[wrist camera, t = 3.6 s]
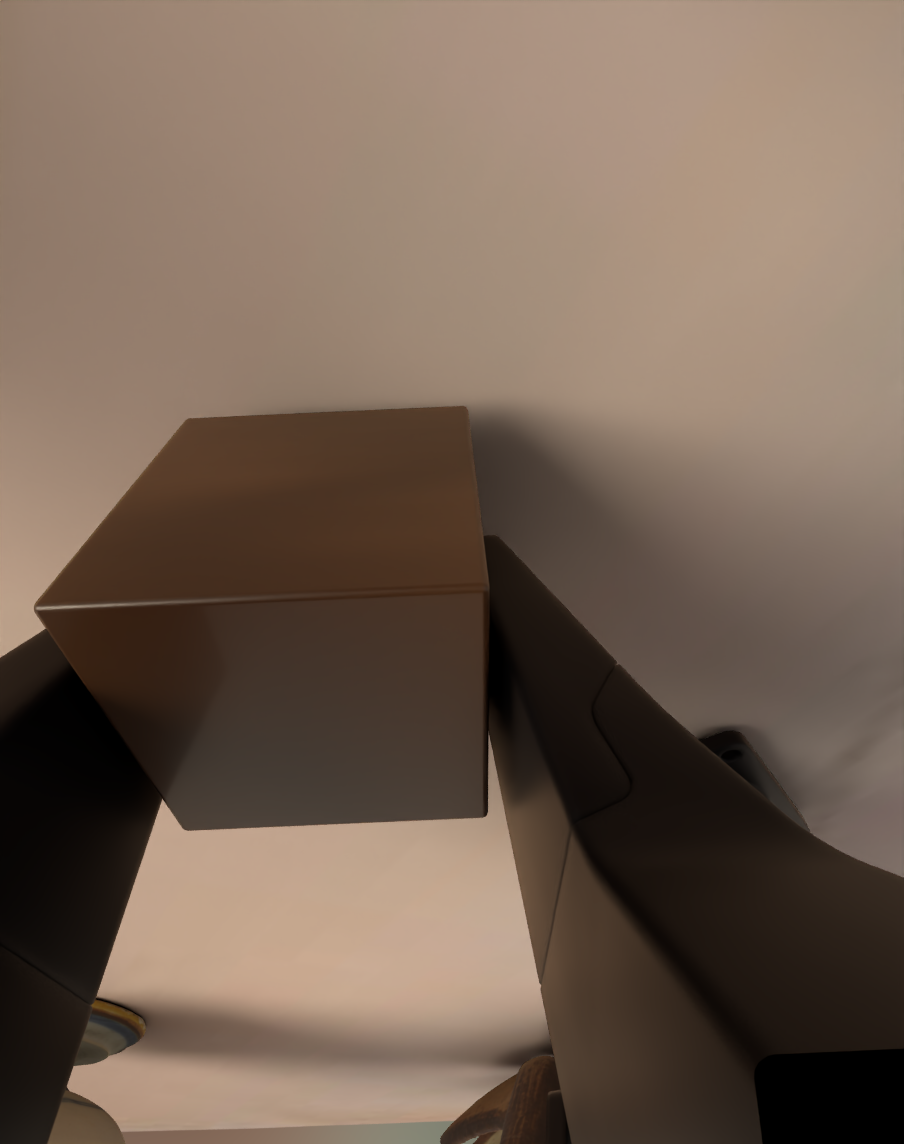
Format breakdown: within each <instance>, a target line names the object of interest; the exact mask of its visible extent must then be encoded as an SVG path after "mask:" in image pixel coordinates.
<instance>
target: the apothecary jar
mask: <svg viewBox="0 0 904 1144" xmlns="http://www.w3.org/2000/svg"><path fill="white" fill-rule="evenodd" d="M91 1006H92V1008H93V1009H92V1012H91V1015H90V1018H89V1021H88V1024H87V1027H86V1030H85V1033H84V1036H83V1039H82V1042H81V1045H80V1048H79V1051H78V1054H77V1057H76V1060H75V1063H74V1066H77V1065H88V1064H93V1063H97V1062H100V1061H102V1060H104V1059H106V1058H107V1057H108V1056H110V1055H113V1054H117V1053H120V1052H121V1051H123V1050H124V1049H126V1048H127V1047H129V1046H131V1045H133V1044H135V1043H136V1042H138V1041H139V1040H140V1039H141V1038H142V1037H143V1036H144V1034H145V1031H146V1025H145V1022H144V1020H143V1019H142V1018H141V1017H139V1016H137V1015H136V1014H134V1013H132V1012H131V1011H129V1010H126V1009H124V1008H122V1007H119V1006H116V1005H114V1004H110V1003H107V1002H103V1001H100V1000H95V1001H94V1003H93V1004H92V1005H91ZM48 1144H125V1141H124V1138H123V1135H122V1133H121V1131H120V1129H119V1127H118V1125H117V1123H116V1122H115V1121H114V1119H113V1118H112V1117H111V1116H110V1115H109V1114H108V1113H107V1112H106V1111H104V1110H103V1109H102V1108H101V1107H99V1106H98V1105H96V1104H95V1103H93V1102H91V1101H90V1100H88V1099H86V1098H84V1097H82V1096H80V1095H78V1094H75V1093H73V1092H70V1091H69V1090H68V1088H67V1087H66V1090H65V1093H64V1096H63V1099H62V1102H61V1105H60V1108H59V1111H58V1114H57V1117H56V1120H55V1123H54V1126H53V1129H52V1132H51V1135H50V1138H49V1141H48Z"/></svg>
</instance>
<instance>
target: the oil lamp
mask: <svg viewBox="0 0 904 1144" xmlns="http://www.w3.org/2000/svg"><path fill="white" fill-rule="evenodd" d="M557 1090H561V1088H560V1083H559V1078H558V1073H557V1068H556V1063H555V1058H554V1057H551V1056H538V1057H535V1058H533V1059H530V1060H528V1061H527V1062H525V1063H524V1064H523V1065H522V1066H521V1068H520V1070H519V1072H518V1074H516V1075H514V1076H513V1077H511V1078H509V1079H508V1080H506V1081H504V1082H503V1083H501V1084H500V1085H498V1086H497V1087H495V1088H494V1089H493V1090H491V1091H490V1092H488V1093H487V1094H485V1095H484V1096H483V1097H482V1098H480V1099H479V1100H478V1101H476V1102H475V1103H474V1104H473V1105H472V1106H471V1107H470V1108H469V1109H468V1110H466V1111H465V1112H464V1113H463V1114H462V1115H461V1116H460V1117H459V1118H458V1119H456V1120H455V1121H454V1122H453V1123H452V1124H451V1125H450V1126H449V1127H448V1129H447V1130H446V1131H445V1132H444V1133H443V1135H442V1136H441V1138H440V1139H441V1140H440V1143H441V1144H461V1143H464V1142H466V1141H468V1140H469V1139H472V1138H476V1137H477V1136H479V1138H478V1139H477V1140H476V1141H475V1142H474V1143H473V1144H545V1141H546V1101H547V1095H548V1093H549V1092H551V1091H557Z"/></svg>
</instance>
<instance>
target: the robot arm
mask: <svg viewBox="0 0 904 1144" xmlns="http://www.w3.org/2000/svg"><path fill="white" fill-rule="evenodd" d="M483 537H484V545H485V553H486V561H487V570H488V578H489V586H490V613H489V735H490V740H491V745H492V750H493V755H494V760H495V765H496V769H497V774H498V779H499V784H500V789H501V794H502V799H503V804H504V809H505V814H506V819H507V824H508V829H509V834H510V839H511V844H512V849H513V854H514V859H515V864H516V869H517V874H518V879H519V884H520V889H521V894H522V899H523V904H524V909H525V914H526V919H527V924H528V929H529V934H530V939H531V944H532V948H533V953H534V958H535V963H536V968H537V973H538V978H539V983H540V984H541V994H542V999H543V1004H544V1009H545V1014H546V1019H547V1024H548V1029H549V1034H550V1039H551V1044H552V1048H553V1053H554V1058H555V1063H556V1068H557V1073H558V1078H559V1083H560V1088H561V1090H557V1091H551V1092H549V1093H548V1095H547V1101H546V1141H545V1144H904V877H901V876H899V875H896V874H893V873H891V872H888V871H885V870H883V869H880V868H878V867H875V866H872V865H870V864H867V863H865V862H862V861H860V860H857V859H855V858H853V857H851V856H849V855H847V854H845V853H843V852H841V851H839V850H837V849H835V848H834V847H832V846H830V845H829V844H827V843H825V842H824V841H822V840H820V839H819V838H817V837H816V836H814V835H813V834H811V833H810V830H809V828H808V826H807V824H806V822H805V820H804V818H803V816H802V815H801V814H800V812H799V811H798V810H797V808H796V807H795V805H794V804H793V803H792V801H791V800H790V799H789V797H788V796H787V794H786V793H785V792H784V790H783V789H782V788H781V786H780V785H779V783H778V782H777V781H776V779H775V778H774V777H773V775H772V774H771V772H770V771H769V770H768V768H767V767H766V766H765V764H764V763H763V761H762V760H761V759H760V757H759V756H758V755H757V753H756V752H755V751H754V749H753V748H752V746H751V745H750V744H749V742H748V741H747V740H746V738H745V737H744V735H742V734H741V733H740V732H736V731H725V732H721V733H718V734H715V735H713V736H710V737H708V738H705V739H702V740H700V741H699V740H698V739H697V738H695V737H694V736H693V735H692V734H691V733H690V732H689V731H688V730H686V729H685V728H684V727H683V726H682V725H681V724H680V723H679V722H678V721H676V720H675V719H674V718H673V717H672V716H671V715H670V714H669V713H667V712H666V711H665V710H664V709H663V708H662V707H661V706H660V705H659V704H658V703H657V702H656V701H655V700H654V699H653V698H652V697H651V696H650V695H649V694H648V693H647V692H646V691H645V690H644V689H643V688H642V687H641V686H640V685H639V684H638V683H637V682H636V681H635V680H634V679H633V678H632V677H631V676H630V675H629V674H628V673H627V672H626V671H625V669H624V668H623V667H622V666H621V665H617V662H616V660H615V659H614V658H613V657H612V656H611V655H610V654H609V653H608V652H607V651H606V650H605V649H604V648H603V646H602V645H601V644H600V643H599V642H598V641H597V640H596V639H595V638H594V637H593V636H592V635H591V634H590V633H589V632H588V631H587V630H586V628H585V627H584V626H583V625H582V624H581V623H580V622H579V621H578V620H577V619H576V618H575V617H574V616H573V615H572V614H571V613H570V612H569V611H568V609H567V608H566V607H565V606H564V605H563V604H562V603H561V602H560V601H559V600H558V599H557V598H556V597H555V596H554V595H553V594H552V593H551V591H550V590H549V589H548V588H547V587H546V586H545V585H544V584H543V583H542V582H541V581H540V580H539V579H538V578H537V577H536V576H535V575H534V574H533V572H532V571H531V570H530V569H529V568H528V567H527V566H526V565H525V564H524V563H523V562H522V561H521V560H520V559H519V558H518V557H517V556H516V555H515V553H514V552H513V551H512V550H511V549H510V548H509V547H508V546H507V545H506V544H505V543H504V542H503V541H502V540H501V539H500V538H499V537H498V536H496V535H485V536H483ZM161 801H162V797H161V796H160V794H159V793H158V791H157V790H156V789H155V787H154V786H153V784H152V783H151V781H150V780H149V778H148V777H147V775H146V774H145V772H144V771H143V770H142V768H141V767H140V765H139V764H138V762H137V761H136V759H135V758H134V756H133V755H132V753H131V752H130V751H129V749H128V748H127V746H126V745H125V743H124V742H123V740H122V739H121V737H120V736H119V734H118V733H117V732H116V730H115V729H114V727H113V726H112V724H111V723H110V721H109V720H108V718H107V717H106V715H105V714H104V713H103V711H102V710H101V708H100V707H99V705H98V704H97V702H96V701H95V699H94V698H93V696H92V695H91V694H90V692H89V691H88V689H87V688H86V686H85V685H84V683H83V682H82V680H81V679H80V677H79V676H78V675H77V673H76V672H75V670H74V669H73V667H72V666H71V664H70V663H69V661H68V660H67V658H66V657H65V656H64V654H63V653H62V651H61V650H60V648H59V647H58V645H57V644H56V642H55V641H54V639H53V638H52V637H51V635H50V634H49V632H48V631H47V629H45V630H43V631H42V632H40V633H39V634H37V635H35V636H34V637H32V638H31V639H29V640H28V641H26V642H24V643H23V644H21V645H20V646H18V647H17V648H15V649H13V650H12V651H10V652H9V653H7V654H5V655H4V656H2V657H1V658H0V1144H48V1141H49V1138H50V1135H51V1132H52V1129H53V1126H54V1123H55V1120H56V1117H57V1114H58V1111H59V1108H60V1105H61V1102H62V1099H63V1096H64V1093H65V1090H66V1087H67V1084H68V1081H69V1078H70V1075H71V1072H72V1069H73V1066H74V1063H75V1060H76V1057H77V1054H78V1051H79V1048H80V1045H81V1042H82V1039H83V1036H84V1033H85V1030H86V1027H87V1024H88V1021H89V1018H90V1015H91V1012H92V1009H93V1008H92V1006H91V1005H92V1004H93V1003H94V1001H95V999H96V996H97V993H98V990H99V987H100V984H101V981H102V978H103V975H104V972H105V969H106V966H107V963H108V960H109V957H110V954H111V951H112V948H113V945H114V942H115V939H116V936H117V933H118V930H119V927H120V924H121V921H122V918H123V915H124V912H125V909H126V906H127V903H128V900H129V897H130V894H131V891H132V888H133V885H134V882H135V879H136V876H137V873H138V870H139V867H140V864H141V861H142V858H143V855H144V852H145V849H146V846H147V843H148V840H149V837H150V834H151V831H152V828H153V825H154V822H155V819H156V816H157V813H158V810H159V807H160V804H161Z"/></svg>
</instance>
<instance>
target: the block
mask: <svg viewBox="0 0 904 1144" xmlns="http://www.w3.org/2000/svg"><path fill="white" fill-rule="evenodd" d="M34 611H35V613H36V615H37V616H38V618H39V619H40V620H41V622H42V623H43V625H44V626H45V628H46V629H47V631H48V632H49V634H50V635H51V637H52V638H53V639H54V641H55V642H56V644H57V645H58V647H59V648H60V650H61V651H62V653H63V654H64V656H65V657H66V658H67V660H68V661H69V663H70V664H71V666H72V667H73V669H74V670H75V672H76V673H77V675H78V676H79V677H80V679H81V680H82V682H83V683H84V685H85V686H86V688H87V689H88V691H89V692H90V694H91V695H92V696H93V698H94V699H95V701H96V702H97V704H98V705H99V707H100V708H101V710H102V711H103V713H104V714H105V715H106V717H107V718H108V720H109V721H110V723H111V724H112V726H113V727H114V729H115V730H116V732H117V733H118V734H119V736H120V737H121V739H122V740H123V742H124V743H125V745H126V746H127V748H128V749H129V751H130V752H131V753H132V755H133V756H134V758H135V759H136V761H137V762H138V764H139V765H140V767H141V768H142V770H143V771H144V772H145V774H146V775H147V777H148V778H149V780H150V781H151V783H152V784H153V786H154V787H155V789H156V790H157V791H158V793H159V794H160V796H161V797H162V799H163V800H164V802H165V803H166V805H167V806H168V808H169V809H170V810H171V812H172V813H173V815H174V816H175V818H176V819H177V821H178V822H179V824H180V825H181V827H182V828H183V829H185V830H187V831H192V830H214V829H237V828H260V827H282V826H305V825H327V824H350V823H373V822H395V821H418V820H441V819H463V818H483V817H486V816H487V813H488V735H489V613H490V586H489V578H488V570H487V561H486V553H485V545H484V537H483V529H482V521H481V512H480V504H479V496H478V488H477V480H476V471H475V463H474V455H473V447H472V439H471V430H470V422H469V414H468V409H467V407H464V406H453V407H431V408H409V409H387V410H365V411H343V412H321V413H299V414H277V415H255V416H233V417H210V418H189V419H187V420H185V422H184V423H183V424H182V425H181V426H180V428H179V429H178V430H177V431H176V433H175V434H174V435H173V436H172V437H171V439H170V440H169V441H168V442H167V444H166V445H165V446H164V447H163V448H162V450H161V451H160V452H159V453H158V455H157V456H156V457H155V458H154V459H153V461H152V462H151V463H150V464H149V465H148V467H147V468H146V469H145V470H144V472H143V473H142V474H141V475H140V476H139V478H138V479H137V480H136V481H135V483H134V484H133V485H132V486H131V487H130V489H129V490H128V491H127V492H126V493H125V495H124V496H123V497H122V498H121V500H120V501H119V502H118V503H117V504H116V506H115V507H114V508H113V509H112V511H111V512H110V513H109V514H108V515H107V517H106V518H105V519H104V520H103V521H102V523H101V524H100V525H99V526H98V528H97V529H96V530H95V531H94V532H93V534H92V535H91V536H90V537H89V539H88V540H87V541H86V542H85V543H84V545H83V546H82V547H81V548H80V549H79V551H78V552H77V553H76V554H75V556H74V557H73V558H72V559H71V560H70V562H69V563H68V564H67V565H66V567H65V568H64V569H63V570H62V571H61V573H60V574H59V575H58V576H57V577H56V579H55V580H54V581H53V582H52V584H51V585H50V586H49V587H48V588H47V590H46V591H45V592H44V593H43V595H42V596H41V597H40V598H39V599H38V601H37V602H36V603H35V606H34Z"/></svg>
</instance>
